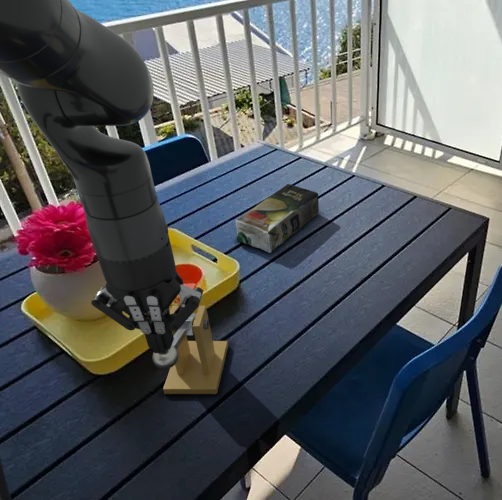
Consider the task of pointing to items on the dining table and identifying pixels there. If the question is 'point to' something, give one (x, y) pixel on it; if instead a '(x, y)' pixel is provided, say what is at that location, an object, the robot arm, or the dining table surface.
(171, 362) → the tap lever
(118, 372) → the dining table surface
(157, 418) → the dining table surface
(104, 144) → the robot arm
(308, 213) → the juice carton
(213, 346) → the bracket
